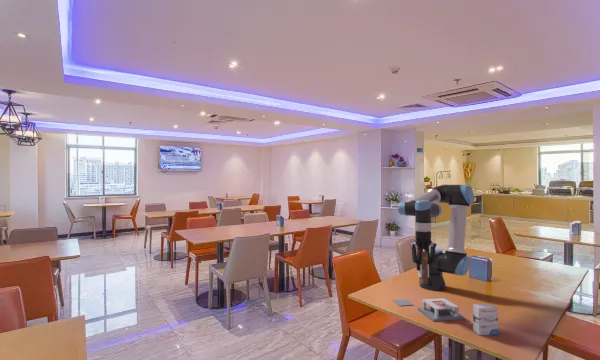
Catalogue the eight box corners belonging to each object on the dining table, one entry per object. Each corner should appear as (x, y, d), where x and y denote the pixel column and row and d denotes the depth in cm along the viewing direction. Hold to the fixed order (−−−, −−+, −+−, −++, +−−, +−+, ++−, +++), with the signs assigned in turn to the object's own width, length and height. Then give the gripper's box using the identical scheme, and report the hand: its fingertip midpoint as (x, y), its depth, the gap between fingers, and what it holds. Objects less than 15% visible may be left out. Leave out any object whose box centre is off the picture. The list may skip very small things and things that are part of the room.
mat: (406, 299, 179) (406, 299, 179) (413, 305, 171) (413, 304, 171) (392, 300, 178) (392, 300, 178) (399, 306, 170) (399, 305, 170)
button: (441, 307, 162) (441, 303, 162) (446, 310, 158) (446, 306, 158) (434, 307, 161) (434, 303, 161) (438, 310, 157) (438, 307, 157)
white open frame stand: (446, 307, 168) (446, 297, 168) (463, 319, 154) (463, 307, 154) (417, 309, 165) (417, 299, 165) (433, 321, 151) (433, 309, 151)
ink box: (491, 329, 143) (491, 303, 143) (498, 335, 138) (498, 307, 138) (472, 330, 142) (472, 303, 142) (479, 335, 137) (478, 308, 137)
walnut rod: (424, 282, 165) (424, 251, 165) (427, 284, 162) (427, 252, 162) (419, 282, 165) (419, 251, 165) (422, 284, 162) (421, 252, 162)
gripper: (434, 229, 169) (434, 273, 168) (404, 229, 167) (405, 275, 166) (442, 231, 161) (442, 278, 161) (411, 232, 159) (411, 279, 159)
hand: (423, 276), depth 164 cm, fingers closed on walnut rod, 3 cm apart
